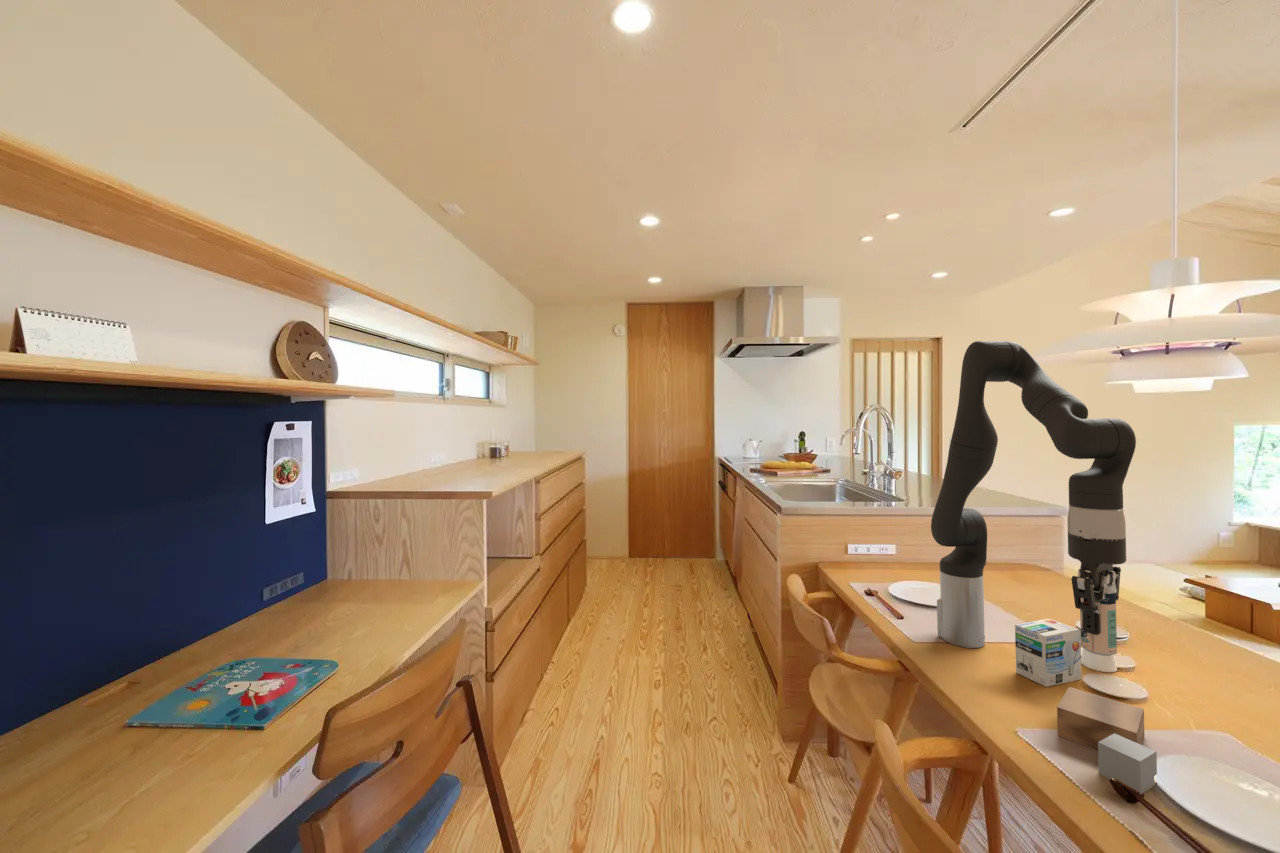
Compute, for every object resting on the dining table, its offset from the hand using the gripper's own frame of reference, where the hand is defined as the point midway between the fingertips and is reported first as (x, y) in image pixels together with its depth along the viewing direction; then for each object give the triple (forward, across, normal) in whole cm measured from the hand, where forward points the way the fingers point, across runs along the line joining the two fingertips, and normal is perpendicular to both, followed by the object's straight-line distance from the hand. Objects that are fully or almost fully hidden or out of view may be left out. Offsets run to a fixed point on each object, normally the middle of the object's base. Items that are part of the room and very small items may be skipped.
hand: (1097, 629), depth 87 cm
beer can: (+4, 0, 0) cm, 4 cm away
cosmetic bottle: (+19, -31, -10) cm, 38 cm away
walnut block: (+19, 0, 0) cm, 19 cm away
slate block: (+19, +10, +6) cm, 22 cm away
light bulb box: (+19, -17, -14) cm, 29 cm away
